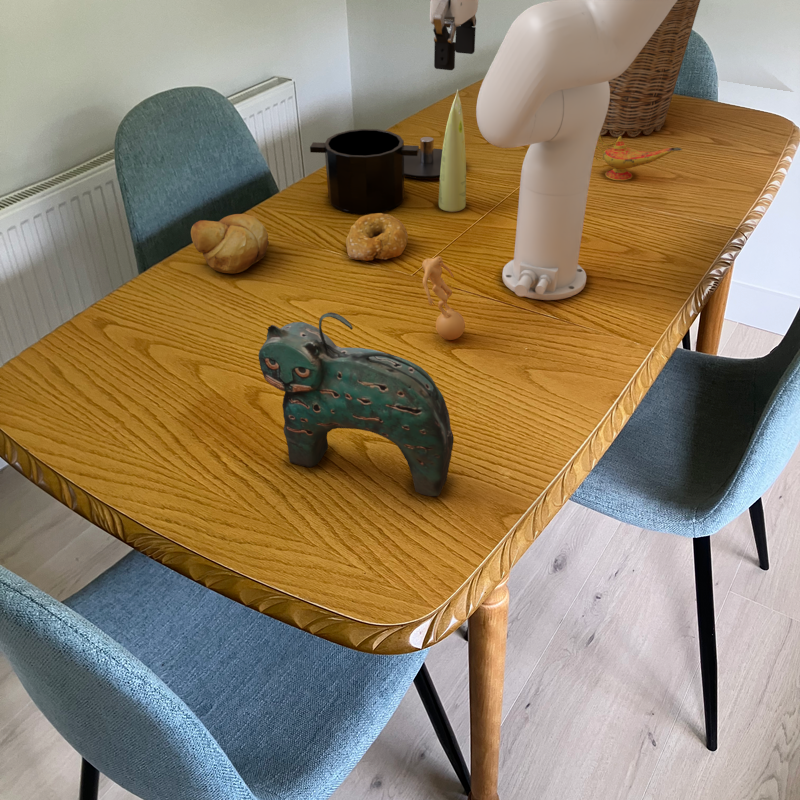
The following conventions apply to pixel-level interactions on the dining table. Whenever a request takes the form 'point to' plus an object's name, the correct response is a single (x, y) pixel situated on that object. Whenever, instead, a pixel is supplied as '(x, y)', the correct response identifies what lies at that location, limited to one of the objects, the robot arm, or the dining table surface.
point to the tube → (453, 162)
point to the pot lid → (424, 161)
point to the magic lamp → (628, 158)
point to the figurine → (450, 320)
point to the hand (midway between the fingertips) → (454, 60)
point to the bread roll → (231, 242)
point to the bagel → (376, 237)
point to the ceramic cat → (356, 399)
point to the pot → (365, 170)
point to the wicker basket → (651, 76)
